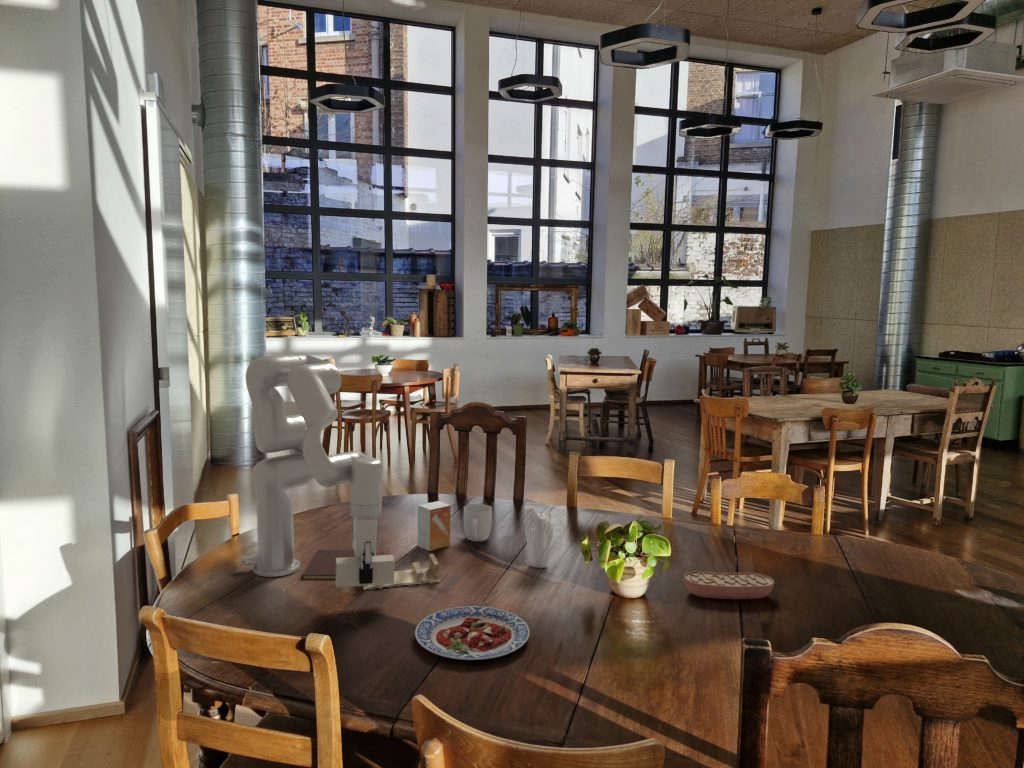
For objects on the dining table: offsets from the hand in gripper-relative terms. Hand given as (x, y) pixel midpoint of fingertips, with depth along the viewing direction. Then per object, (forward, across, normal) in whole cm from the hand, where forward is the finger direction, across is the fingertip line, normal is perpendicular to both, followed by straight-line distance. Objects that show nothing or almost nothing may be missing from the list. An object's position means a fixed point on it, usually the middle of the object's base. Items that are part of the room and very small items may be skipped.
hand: (364, 578), depth 185 cm
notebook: (+8, -28, -5) cm, 30 cm away
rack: (+7, -13, +11) cm, 18 cm away
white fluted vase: (+6, -14, +51) cm, 53 cm away
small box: (+7, -37, +25) cm, 45 cm away
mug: (+7, -39, +39) cm, 55 cm away
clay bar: (+1, 0, 0) cm, 1 cm away
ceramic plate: (+6, +25, +22) cm, 34 cm away
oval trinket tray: (+4, +19, +92) cm, 94 cm away
